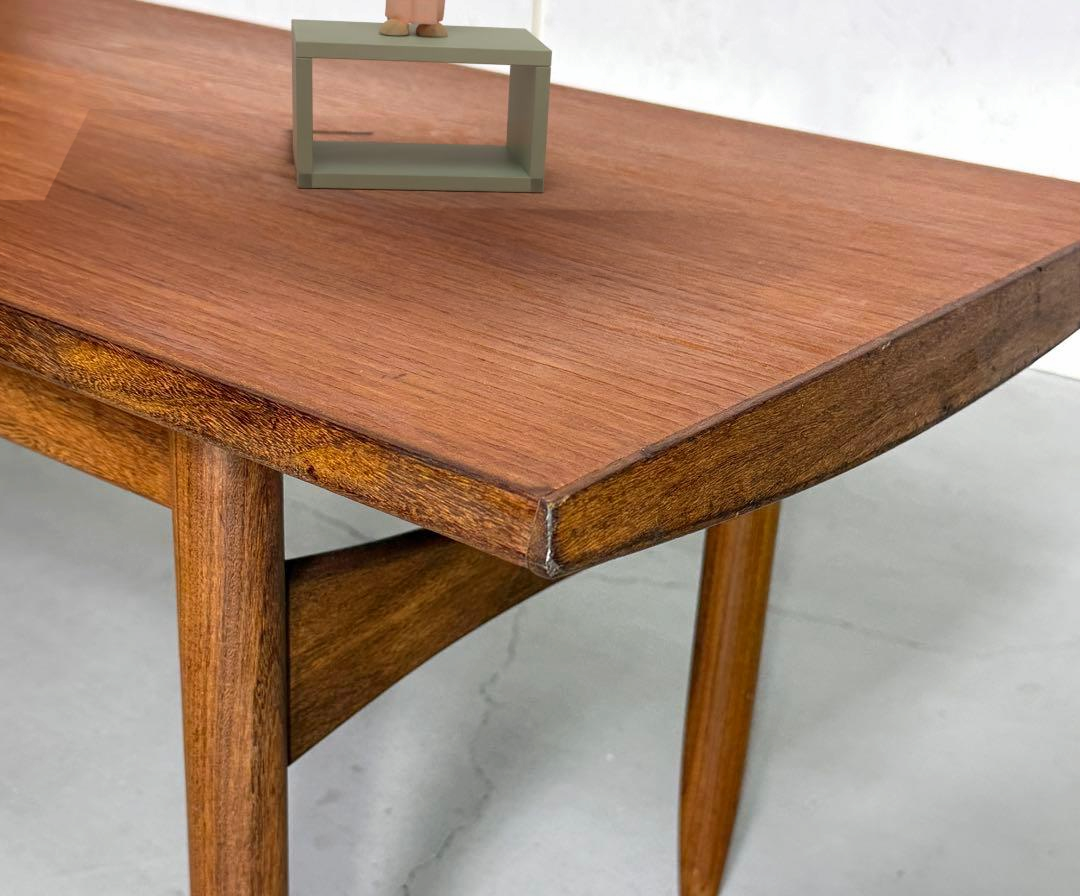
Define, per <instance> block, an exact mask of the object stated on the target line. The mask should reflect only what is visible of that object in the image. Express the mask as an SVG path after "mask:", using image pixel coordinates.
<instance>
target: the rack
mask: <svg viewBox="0 0 1080 896" xmlns="http://www.w3.org/2000/svg"><path fill="white" fill-rule="evenodd" d="M290 22H291V23H290V25H291V31H290V32H291V95H292V96H291V101H292V103H291V105H292V108H291V109H292V111H291V112H292V157H293V164H295V165H294V172H295V179H296V186H297V188H298V189H339V190H340V189H341V190H342V189H344V190H348V189H349V190H389V191H391V190H394V191H395V190H397V191H442V192H443V191H445V192H447V191H449V192H490V193H491V192H492V193H494V192H496V193H498V192H499V193H540V194H541V193H544V191H545V190H544V189H545V173H546V159H547V158H546V156H547V140H548V124H549V123H548V122H549V107H550V92H551V76H552V67H551V66H552V60H553V59H552V58H553V50H552V49H550V47H548V46H547V45H545V44H544V43H543V42H542V41H541V40H540V39H539V38H538V37H536V36H535V35H534V34H533V33H532V32H530V31H529V30H528V28H527V29H526V28H522V27H521V28H519V27H499V26H496V27H495V26H494V27H493V26H471V25H447V24H446V25H444V24H442V25H443V26H444V27H445V29H446V31H447V34H448V36H447V37H426V36H420V35H418V34H417V33H416V28H417V26H418V25H419V24H410V23H409V35H402V36H394V35H384V34H380V33H379V29H380V27H381V25H382V24H383V23H384V22H374V21H373V22H371V21H350V20H349V21H348V20H347V21H345V20H324V19H323V20H322V19H301V18H300V19H298V18H293V19H292V18H291V21H290ZM313 59H323V60H324V59H325V60H328V59H329V60H351V61H352V60H354V61H355V60H356V61H382V62H383V61H385V62H408V63H409V62H411V63H437V64H463V65H465V64H467V65H493V66H494V65H496V66H498V65H499V66H509V81H508V82H509V83H508V100H507V101H508V102H507V119H506V120H507V121H506V141H505V145H501V144H500V145H497V144H494V145H493V144H462V143H461V144H456V143H455V144H454V143H417V142H383V141H382V142H376V141H340V140H339V141H338V140H337V141H335V140H314V127H313V126H314V120H313V118H314V116H313V115H314V114H313V113H314V112H313V111H314V110H313V108H314V107H313V105H314V104H313V102H314V101H313V96H314V95H313V94H314V92H313Z"/></svg>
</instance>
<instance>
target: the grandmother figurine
mask: <svg viewBox="0 0 1080 896" xmlns="http://www.w3.org/2000/svg"><path fill="white" fill-rule="evenodd" d="M445 7H446V0H385V8H384V9H385V10H384V16H385V17H386V21H384V22H382V23H383V24H382V25H381V27H380V29H379V33H380V34H384V35H394V36H402V35H409V24H419V25H418V26H417V28H416V33H417V34H418V35H420V36H426V37H447V36H448V34H447V31H446V29H445V27H444V26H443V25H444V24H442V23H441V22H443V20H444V16H445Z"/></svg>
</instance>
